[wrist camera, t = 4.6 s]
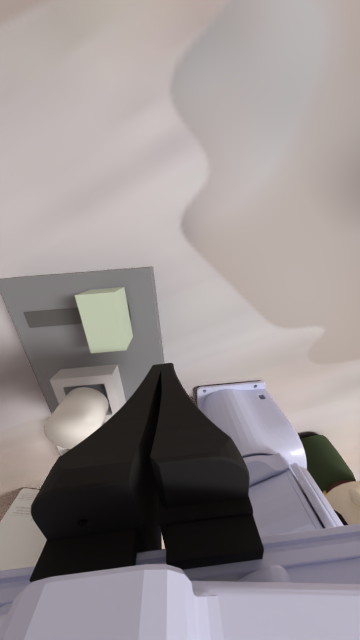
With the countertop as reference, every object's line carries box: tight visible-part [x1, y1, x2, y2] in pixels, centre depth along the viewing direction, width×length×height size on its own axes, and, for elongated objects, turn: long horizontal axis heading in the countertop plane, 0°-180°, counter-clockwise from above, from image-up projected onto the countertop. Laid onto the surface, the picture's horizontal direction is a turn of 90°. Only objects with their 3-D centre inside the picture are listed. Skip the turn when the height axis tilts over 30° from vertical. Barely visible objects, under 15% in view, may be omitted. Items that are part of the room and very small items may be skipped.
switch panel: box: [0, 267, 164, 455], centre depth 20 cm, size 14×26×4 cm, turn 4°
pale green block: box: [75, 287, 133, 353], centre depth 15 cm, size 3×5×3 cm, turn 4°
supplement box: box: [0, 488, 47, 571], centre depth 24 cm, size 7×7×13 cm
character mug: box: [300, 435, 360, 526], centre depth 22 cm, size 11×7×13 cm, turn 25°
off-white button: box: [44, 387, 109, 449], centre depth 16 cm, size 4×4×3 cm
